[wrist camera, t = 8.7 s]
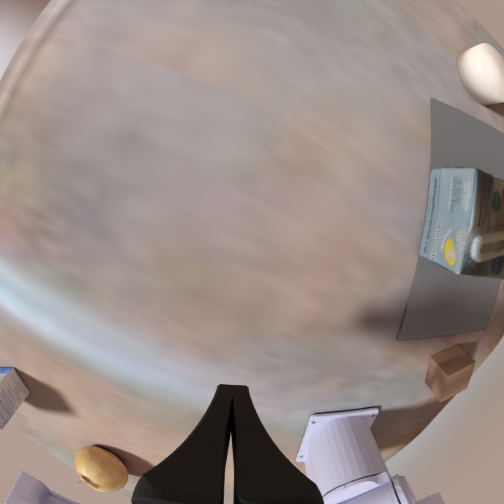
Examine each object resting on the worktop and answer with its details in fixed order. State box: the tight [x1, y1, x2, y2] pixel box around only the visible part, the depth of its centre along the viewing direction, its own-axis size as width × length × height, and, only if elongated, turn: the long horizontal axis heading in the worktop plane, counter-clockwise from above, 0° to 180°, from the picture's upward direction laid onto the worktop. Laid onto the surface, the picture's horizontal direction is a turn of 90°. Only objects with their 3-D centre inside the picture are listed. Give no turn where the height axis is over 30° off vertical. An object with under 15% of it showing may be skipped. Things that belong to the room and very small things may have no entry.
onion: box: [75, 446, 128, 492], centre depth 24 cm, size 8×8×7 cm
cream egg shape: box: [456, 43, 504, 105], centre depth 15 cm, size 6×6×4 cm
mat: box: [397, 98, 504, 341], centre depth 20 cm, size 22×14×1 cm, turn 176°
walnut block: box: [425, 344, 475, 403], centre depth 22 cm, size 4×4×4 cm
